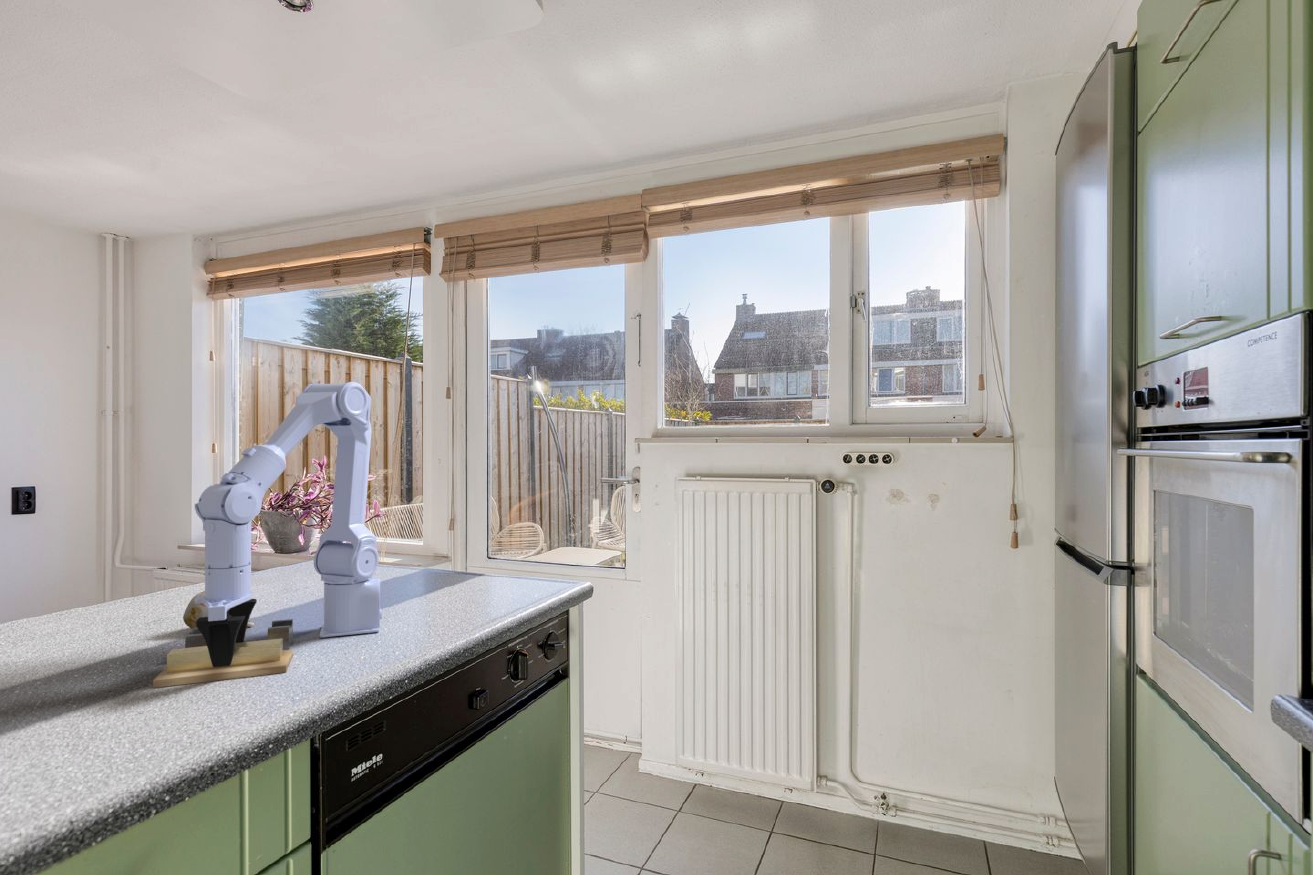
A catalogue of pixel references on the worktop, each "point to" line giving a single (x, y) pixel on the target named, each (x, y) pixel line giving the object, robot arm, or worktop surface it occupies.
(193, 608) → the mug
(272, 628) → the post
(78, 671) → the worktop surface
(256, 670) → the board
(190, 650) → the rail
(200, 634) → the post
